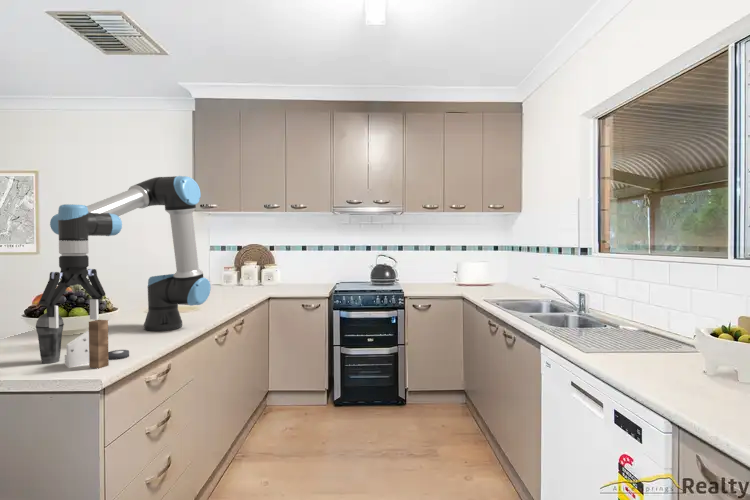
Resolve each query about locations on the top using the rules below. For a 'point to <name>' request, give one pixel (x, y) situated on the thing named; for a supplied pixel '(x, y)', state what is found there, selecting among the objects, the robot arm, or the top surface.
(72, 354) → the white angled block
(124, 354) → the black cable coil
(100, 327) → the walnut post
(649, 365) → the top surface
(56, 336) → the beverage cup
